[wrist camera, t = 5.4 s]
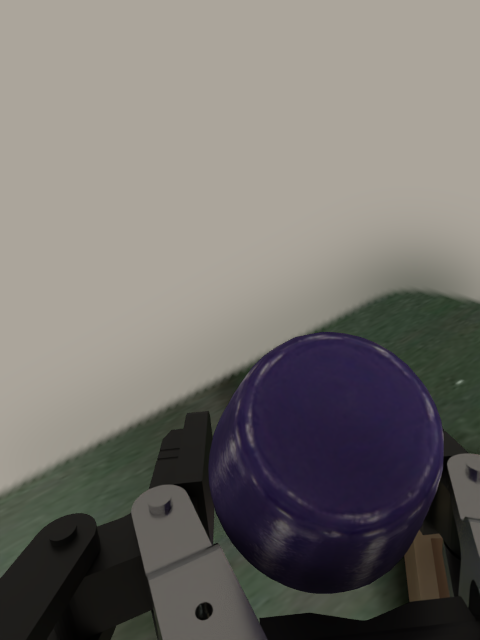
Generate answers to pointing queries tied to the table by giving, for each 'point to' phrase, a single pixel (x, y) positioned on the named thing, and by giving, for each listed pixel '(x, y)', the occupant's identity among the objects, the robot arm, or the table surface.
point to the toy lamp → (326, 462)
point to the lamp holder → (426, 568)
